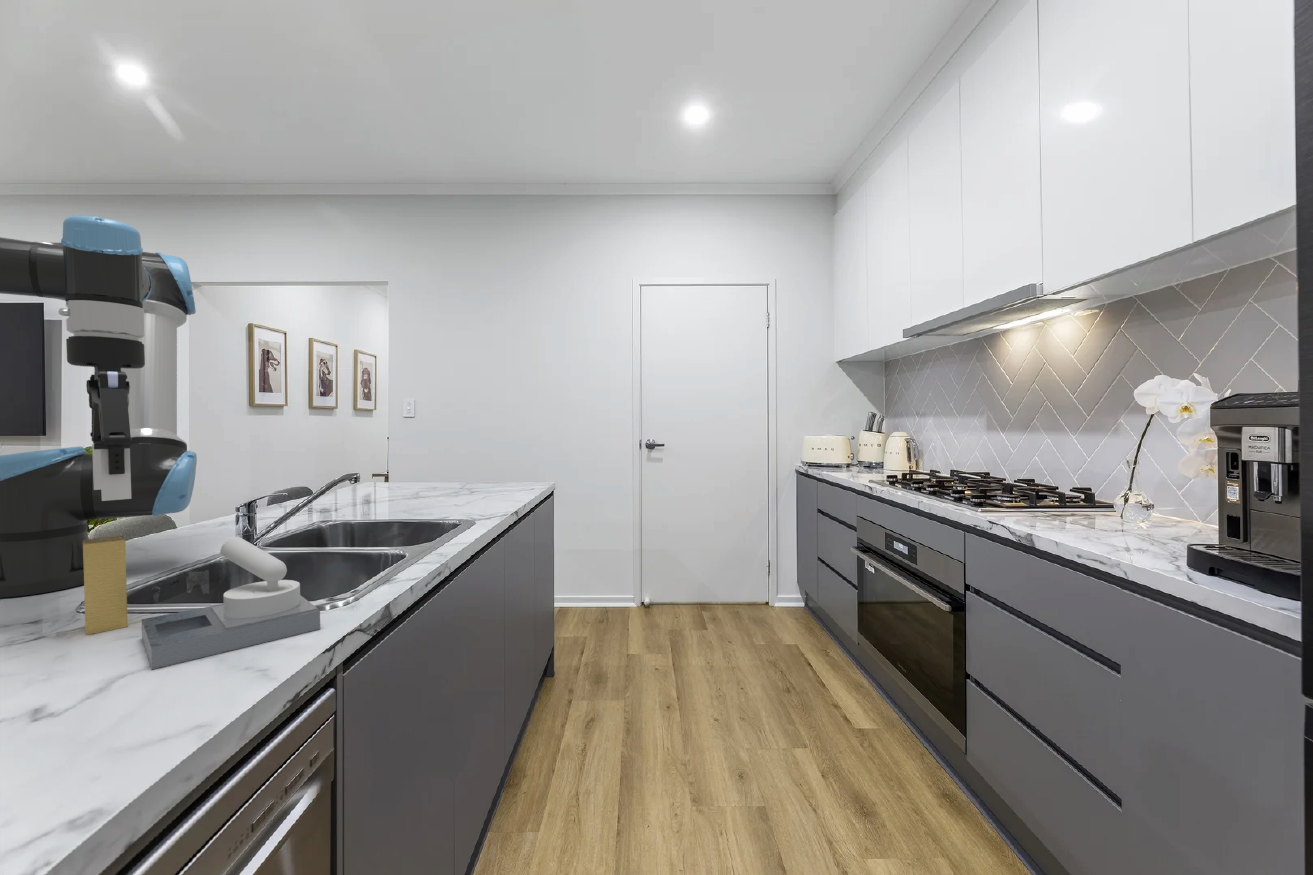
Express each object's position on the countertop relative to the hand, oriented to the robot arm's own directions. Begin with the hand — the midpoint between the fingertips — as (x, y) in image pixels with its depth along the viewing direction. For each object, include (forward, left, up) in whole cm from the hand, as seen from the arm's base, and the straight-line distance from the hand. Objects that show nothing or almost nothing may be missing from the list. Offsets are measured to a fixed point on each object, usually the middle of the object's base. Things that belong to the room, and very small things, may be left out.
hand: (111, 494), depth 76 cm
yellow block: (0, -1, -18) cm, 18 cm away
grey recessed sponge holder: (+15, +11, -18) cm, 26 cm away
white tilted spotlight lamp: (+14, +14, -16) cm, 25 cm away
